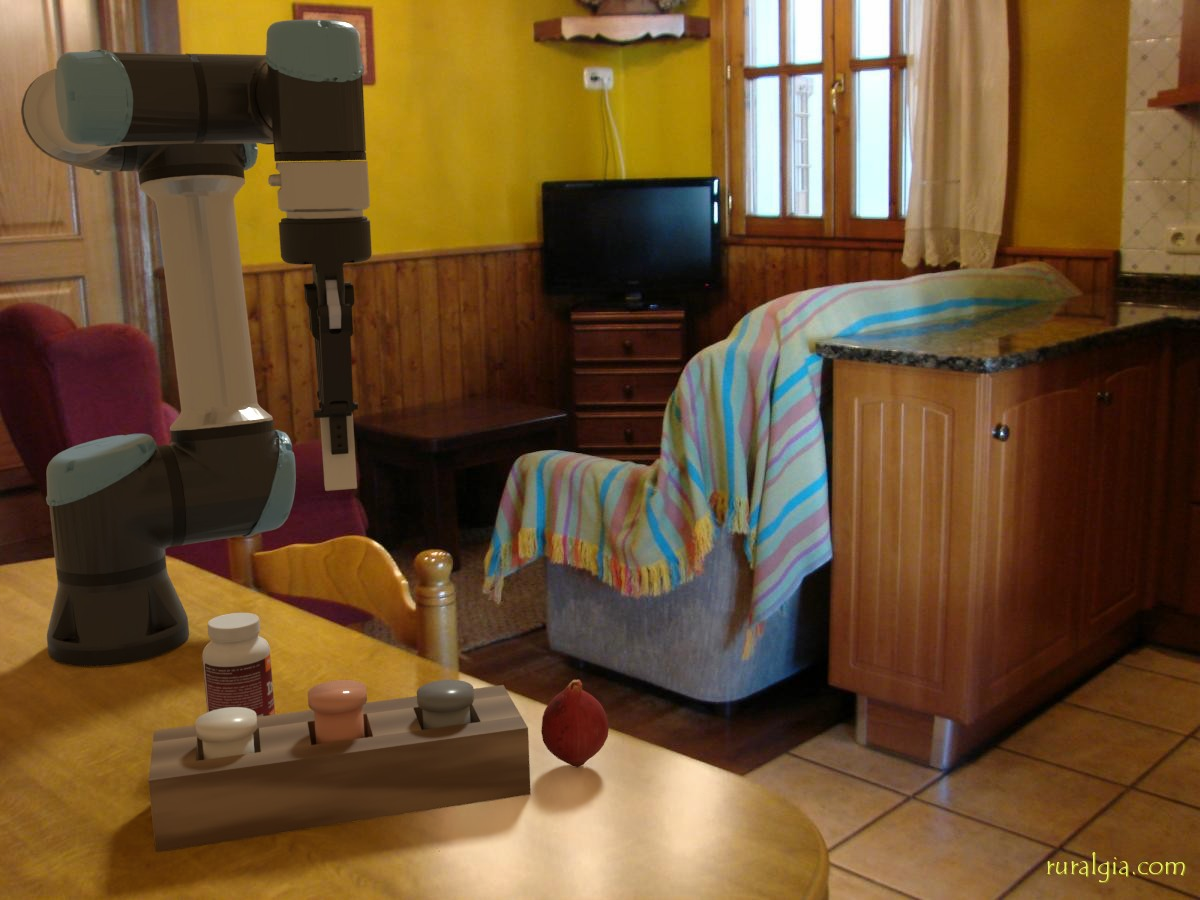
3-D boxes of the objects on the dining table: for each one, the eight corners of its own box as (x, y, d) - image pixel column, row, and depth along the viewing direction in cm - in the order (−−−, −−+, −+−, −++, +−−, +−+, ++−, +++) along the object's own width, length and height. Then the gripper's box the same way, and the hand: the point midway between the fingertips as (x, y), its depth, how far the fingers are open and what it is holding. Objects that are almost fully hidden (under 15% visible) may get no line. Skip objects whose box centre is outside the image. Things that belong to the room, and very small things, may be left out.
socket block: (160, 796, 112) (154, 730, 111) (506, 746, 120) (503, 684, 119) (155, 852, 103) (148, 780, 102) (530, 794, 111) (528, 727, 110)
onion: (560, 786, 112) (557, 698, 110) (532, 761, 117) (528, 676, 115) (620, 771, 115) (618, 684, 113) (590, 747, 120) (587, 663, 118)
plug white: (204, 801, 111) (195, 711, 109) (263, 792, 112) (255, 704, 110) (203, 827, 106) (194, 734, 105) (265, 818, 108) (257, 725, 106)
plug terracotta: (312, 772, 113) (305, 684, 111) (368, 764, 114) (363, 676, 113) (316, 796, 108) (309, 705, 107) (375, 788, 110) (369, 697, 108)
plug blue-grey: (418, 770, 116) (413, 683, 114) (472, 762, 117) (467, 676, 115) (426, 793, 111) (421, 704, 109) (482, 785, 112) (478, 696, 111)
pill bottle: (286, 733, 125) (277, 622, 122) (221, 750, 121) (211, 636, 119) (263, 712, 130) (254, 605, 127) (200, 728, 126) (190, 618, 124)
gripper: (275, 212, 116) (293, 473, 121) (280, 219, 103) (300, 510, 109) (362, 210, 117) (376, 467, 123) (377, 216, 105) (391, 502, 110)
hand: (340, 487), depth 116 cm, fingers closed
